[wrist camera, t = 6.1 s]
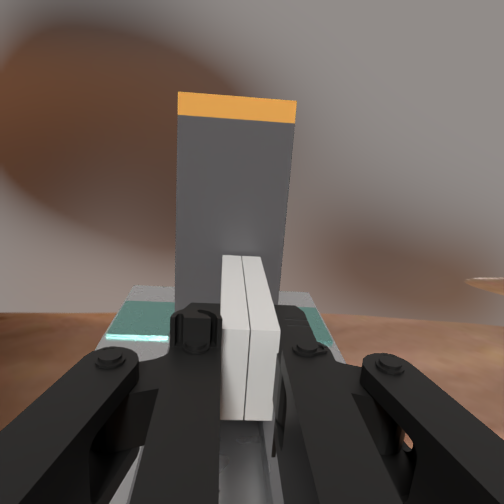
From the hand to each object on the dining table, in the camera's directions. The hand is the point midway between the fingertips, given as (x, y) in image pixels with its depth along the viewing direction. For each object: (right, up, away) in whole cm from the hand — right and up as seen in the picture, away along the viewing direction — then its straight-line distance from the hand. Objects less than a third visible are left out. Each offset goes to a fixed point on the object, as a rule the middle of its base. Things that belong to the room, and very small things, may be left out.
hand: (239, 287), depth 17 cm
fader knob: (-1, -4, +4) cm, 6 cm away
